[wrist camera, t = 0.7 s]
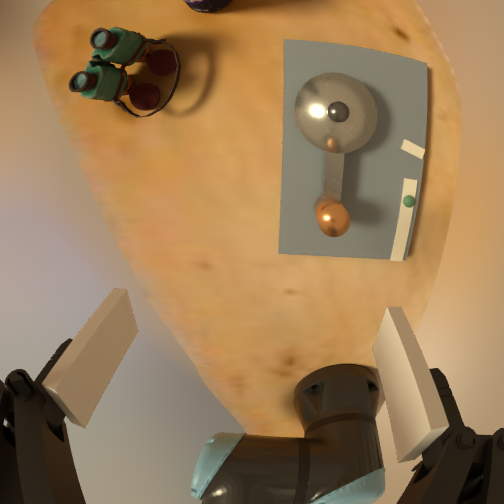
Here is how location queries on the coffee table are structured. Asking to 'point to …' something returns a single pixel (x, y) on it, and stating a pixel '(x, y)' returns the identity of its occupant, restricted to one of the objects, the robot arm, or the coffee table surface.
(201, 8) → the beverage can
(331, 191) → the cam lever
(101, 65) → the binoculars
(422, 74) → the level board
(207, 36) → the coffee table surface
